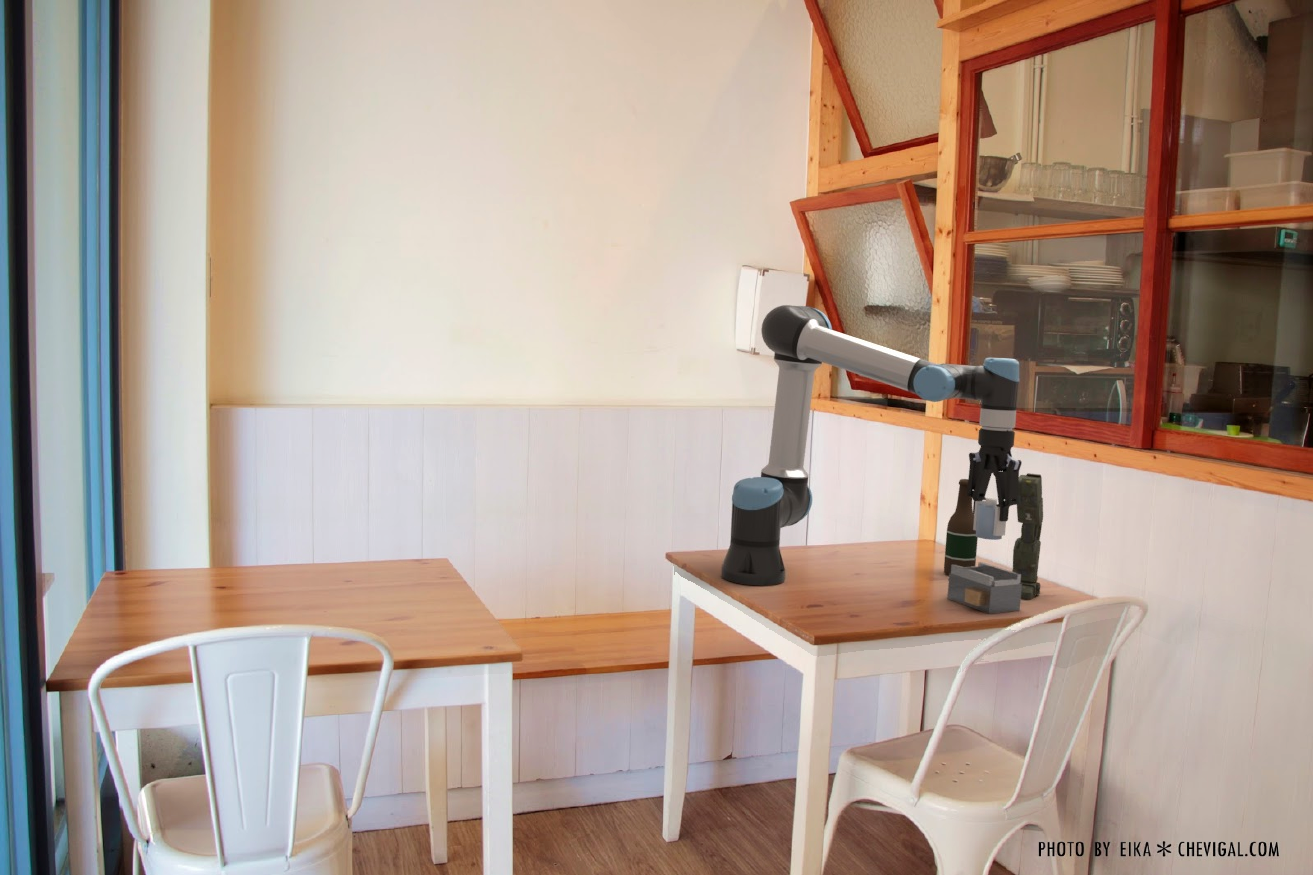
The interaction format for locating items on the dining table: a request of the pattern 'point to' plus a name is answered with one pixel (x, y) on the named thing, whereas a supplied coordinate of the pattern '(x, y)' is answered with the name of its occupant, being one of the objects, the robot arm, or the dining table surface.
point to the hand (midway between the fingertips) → (988, 532)
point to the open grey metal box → (985, 588)
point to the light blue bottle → (986, 520)
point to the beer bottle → (961, 533)
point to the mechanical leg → (1029, 533)
